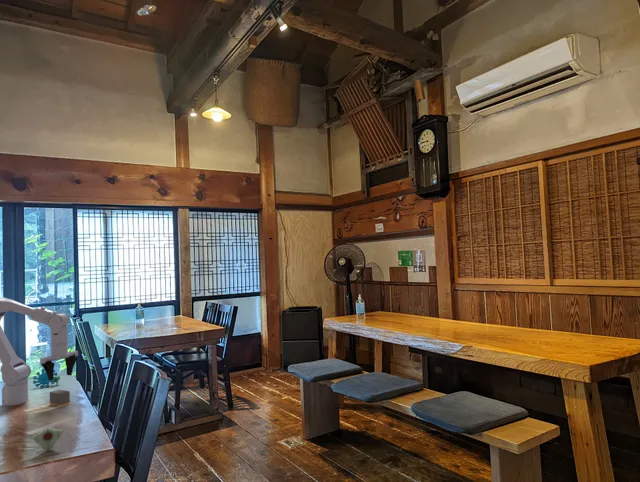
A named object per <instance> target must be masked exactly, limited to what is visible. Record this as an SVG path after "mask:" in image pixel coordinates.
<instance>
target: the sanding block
mask: <svg viewBox="0 0 640 482" xmlns="http://www.w3.org/2000/svg"><path fill="white" fill-rule="evenodd" d="M70 392H71V391H69V390H64V389H63V390H62V389H55V390H52V391H50V392H49V403H50V404H55V405H64V404H67V403H71V397H70Z"/></svg>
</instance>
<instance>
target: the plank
mask: <svg viewBox="0 0 640 482" xmlns="http://www.w3.org/2000/svg"><path fill="white" fill-rule="evenodd" d="M71 404H72V402H70V403H67V404H64V405H55V404H50V402H47V403H44V404H40V405H38V406H34V407H31V408H27V409H23V412H28V413H32V414H37V415H39V414H42V413H45V412H49V411H52V410H54V409H58V408H61V407H64V406H68V405H71Z"/></svg>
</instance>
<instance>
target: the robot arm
mask: <svg viewBox="0 0 640 482" xmlns="http://www.w3.org/2000/svg"><path fill="white" fill-rule="evenodd" d="M8 312H15V313H18V314H21V315H24V316H28V317H30V319H31V320H32V321H33V322H36V323H39V324H43V325H46V326H48V327H49V329H50V347H51V348H50V349H51V350H50V351H51V353H50V355H47V356H44V357H41V358H39V363H40V365H41V366H42V368H43V369H45V372H46V373H47V376H48V380H53V377H54V375H53V374H54V373H53V370H55V361H58V360H63V359H64V362H65V370H66V376H72V374H73V371H74V367H75V365H76V362H77V361H78V356H79V351H78V350H72V351H68V348H69V347H68V325H69V323H70V316H68V314H66V313H65V312H59V313H58V311H57V310H54V311H53V310H50V309H47V307H45V306H41V307H40V306H39V307H36V308H34V307H31V306H29V305H26V304H24V303H21V302H18V301H16V300H13V299H12V298H7V297H0V321H1V320H2V318H3V317H4V316H5V315H6V314H7V313H8ZM53 361H54V362H53ZM0 362H1V366H0V373H1V379H2V382H3V383H4V385H3V387H2V389H1V404H0V408H1V407H5V406H17V405H22V404H25V403H27V402H29V388H28V387H29V381H28V380H29V377H30V375H31V373H32V368H31V366H30V365H29V364H27V363H26V362H25V361H24V359H22V358H20V357H18V355H17V353H16V352H15V350H14V348H13V346H12V344H11V342H10V341H9V339H8V337H7V335H6V332H5V331H4V330H3V327H2V325H0Z"/></svg>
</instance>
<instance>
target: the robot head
mask: <svg viewBox="0 0 640 482" xmlns="http://www.w3.org/2000/svg"><path fill="white" fill-rule="evenodd" d="M63 432H64V429H57V428H53V427H45V428H44V429H42V430H41V431H40V432H37V433H36V434H34V435H32V436H31V438H32V440H33V441H34V443H35V442H36V444H37V445H39V446H40V448H41V449H42V450H43V451H50V450H52V449H54V447H55V445H56V443H57V441H58V440H59V439H60V437H61V436H62V434H63Z"/></svg>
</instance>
